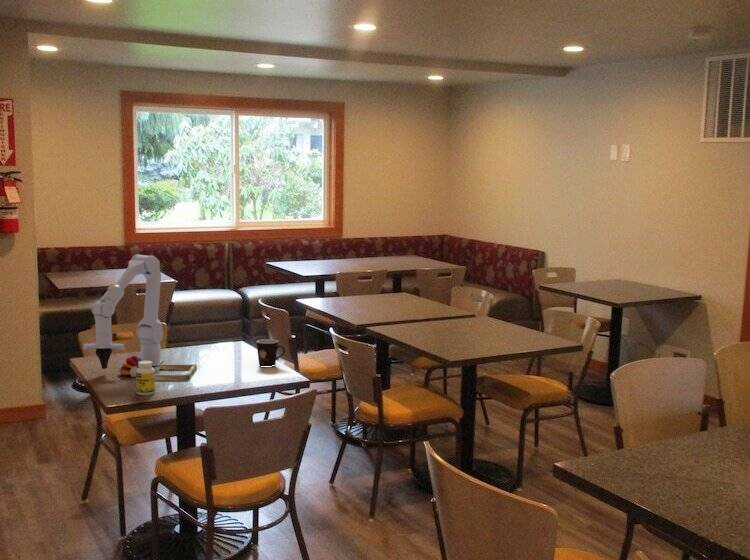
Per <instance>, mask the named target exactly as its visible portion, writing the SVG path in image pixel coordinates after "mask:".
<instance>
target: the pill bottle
mask: <svg viewBox="0 0 750 560" xmlns="http://www.w3.org/2000/svg"><path fill="white" fill-rule="evenodd" d="M138 366H139V368H138V369H137V370H136V377H135V379H136V381H135V382H136V384H135V385H136V390H135V391H136V394H137V395H139V396H150V395H153V394H155V392H156V380H155V374H156V371H155V368H154V367H153V366H152V361H140V362H138Z"/></svg>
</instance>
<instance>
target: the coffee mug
mask: <svg viewBox="0 0 750 560" xmlns="http://www.w3.org/2000/svg"><path fill="white" fill-rule="evenodd" d="M256 347H257V357H258V364H259V365H260V366H272V365H275V366H276V365H277V360H279V358H281V357H283V356H284V355H285V353H286V349H285V347H284V346H282V345H279V340H277V339H270V338H266V339H265V338H264V339H263V338H262V339H258V340H256ZM279 348H281V349H282V350H283V353H282V354H280V355H279V356H278V357H277V354H278V349H279ZM260 366H259V367H260Z"/></svg>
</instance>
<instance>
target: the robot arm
mask: <svg viewBox="0 0 750 560" xmlns="http://www.w3.org/2000/svg"><path fill="white" fill-rule="evenodd" d="M160 264H161V262H160V260H159V259H158V258H157V257H156V256H155V255H144V254H139V253H138V254H137V253H136V254H135V255H133V256H132V257H131V259H130V260H129V261H128V266H127V268H126V269H125V270H124V272H123V274H122V275H121V277H120V278H119V279H118V281H117V282H116V284H113V285H111V286H108V287H107V290H106V292H105V293H104V295H102V296H101V297H100V299H99V300H97V301H95V303H93V305H92V308H91V309H90V310H91V313H92V314H93V316H94V321H95V324H94V325H95V342H94V343H93V342H92V343H84V344H83V350H85V351H86V350H95V355H96V356H97V358H98V359H99V362H100V365H101V369H103V370H106V369H108V363H109V360H110V357H111V355H112V352H113V351H114V350H120V351H123V350H125V344H124V343H115V342H113V333H112V330H113V329H112V316H113V315H114V314H115V311H116V309H115V308H116V307H117V304H118V303H119V302H120V300H121V299H122V298H123V296H124V295H125V289H126V288H127V287H128V286H129V284H130V283H131V282H132V281H133V280H134V279H135V278H136V276H139V275H142V276H144V278H145V279H146V282H145V295H144V296H145V297H144V308H143V317H142V319H140V321H139V323H138V326H137V328H136V337H137V338H138V339H139V342H140V358H141V359H142V360H143V361H152V367H155V366H156V367H159V364H163V362H164V359H162V357H161V355H162V353H161V350H162V349H161V347H162V346H161V344H160V343H162V342H161V341H162V339H163V337H164V330H163V323H162V322H161V320H160V319H159V307H160V297H161V296H160V294H161V283H162V273H161V268H160V266H161V265H160Z"/></svg>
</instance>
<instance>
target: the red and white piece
mask: <svg viewBox="0 0 750 560" xmlns="http://www.w3.org/2000/svg"><path fill="white" fill-rule="evenodd" d="M140 361H143V360H142V359H141V357H138V356H137V355H132V356H131V357H127V358H125V362H126V363H122V365H120V366H119V368H118V372H119V374H120V375H121V376H126V375H127V376H128V375H129V376H130V377H132V378H136V370H137V369H138V368H139V366H138V362H140Z"/></svg>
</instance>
